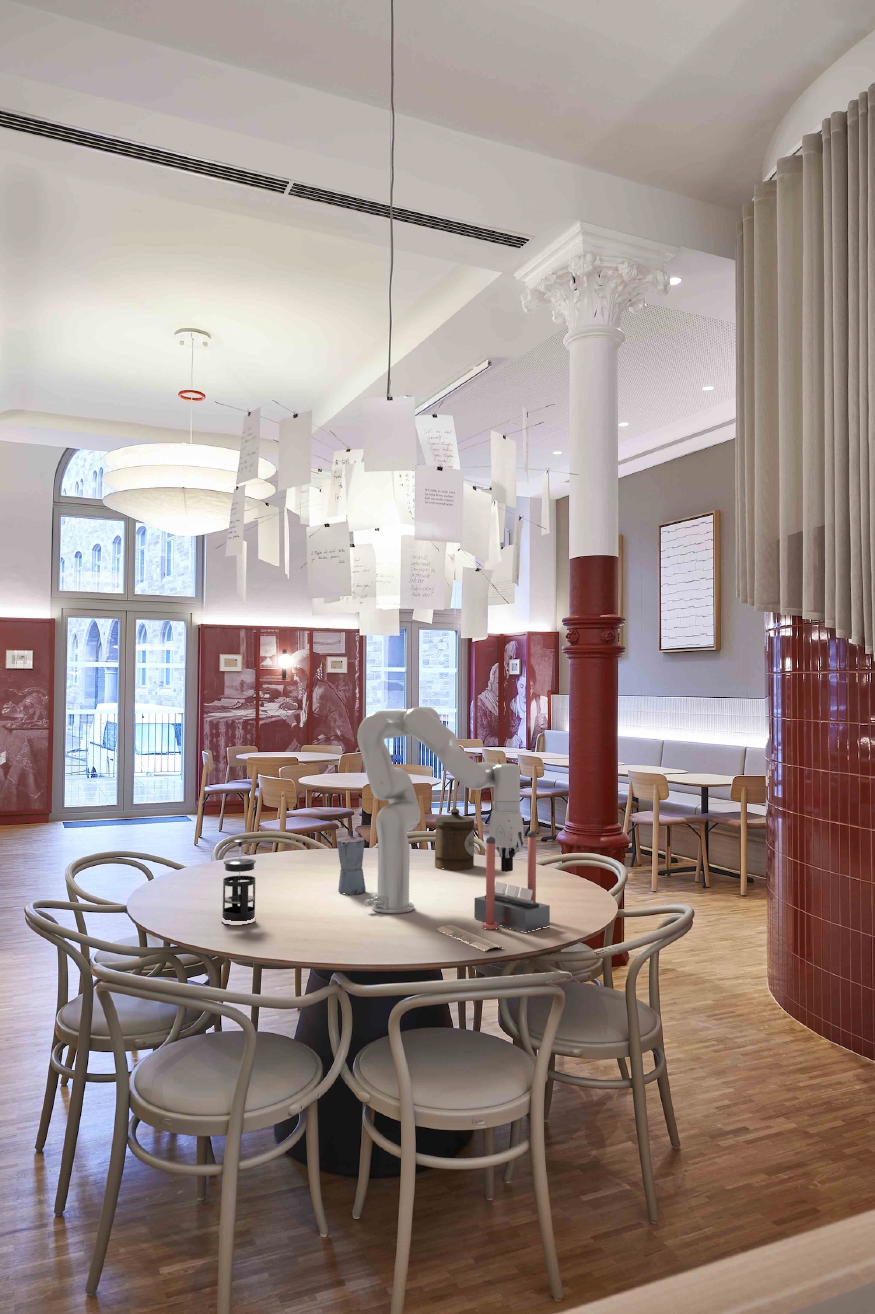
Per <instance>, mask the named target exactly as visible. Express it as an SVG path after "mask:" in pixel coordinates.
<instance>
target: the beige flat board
mask: <svg viewBox="0 0 875 1314" xmlns="http://www.w3.org/2000/svg"><path fill="white" fill-rule="evenodd" d="M437 930H438V931H441V932H445V934H448V935H452V937H456V938H460V939H462V940H463V941H467V942H469V944H473V945H476V946H478V948H481V949H485V950H486V952H487V951H488V950H490V949H494V948H497V947H499V948H502V947H503V948H505V947H504V946H501V945H499V944H497V943H494V942H492V941H490V940H488V939H486V938H483V937H481V936H480V935H479V936H478V935H476V934H474V933H473V932H472V933H471V932H469V931H467V930H465V929H462V928H459V927H458V926H455V925H453V924H452V925H447V924H446V925H443V926H440V927H438V928H437V929H436V931H437ZM438 931H437V932H438ZM445 934H444V935H445ZM499 948H498V949H499Z"/></svg>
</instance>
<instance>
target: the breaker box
mask: <svg viewBox="0 0 875 1314" xmlns="http://www.w3.org/2000/svg"><path fill="white" fill-rule="evenodd" d="M473 910H474V918H476V919H475V920H477V919H479V920H478V921H480V920H482V921H481V922H484V921H486V894H485V895H483V896H477V897H474V909H473ZM550 910H551V909H550V905H549V904H545V903H541V902H537V901H536V902H534V903H533V904H528V903H524V902H520V901H516V900H512V899H508V898H504V897H500V896H496V895H495V922H496V923H498V925H502V926H504V927H503V928H505V927H507V928H506V929H508V928H511V929H513V930H512V931H515V930H518V931H523V932H528V931H532V930H536V929H538V928H543V927H547V926H551V925H550V924H551V923H550V919H551V917H550V914H551V913H550V912H551V911H550ZM511 929H510V930H511ZM518 931H517V932H518Z"/></svg>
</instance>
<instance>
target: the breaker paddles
mask: <svg viewBox="0 0 875 1314" xmlns="http://www.w3.org/2000/svg"><path fill="white" fill-rule="evenodd" d="M532 893H533V890H530V889H528V888H527V887H526V888H525V887H520V886H517V885H513V884H507V883H504V882H499V881H495V895H496V896H500V897H504V898H508V899H512V900H516V901H520V902H524V903H528V904H533V903H534V902H533V901H532V900H531V897H532Z"/></svg>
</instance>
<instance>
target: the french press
mask: <svg viewBox="0 0 875 1314" xmlns="http://www.w3.org/2000/svg"><path fill="white" fill-rule="evenodd" d="M247 842H248V839H244V838H237V839H234V840H232V843H237V844H238V845H237V846H238V847H239V848H238V849H239V854H238V858H230V859H226V860H224V861H223V864H224V870H225V871H227V872H234V873H238V875H231V876H227V877H224V878H223V880H222V882H223V883H222V915H221V916H222V917H223V918H224V919H225V920H231V921H247V920H251V919H253V918H254V917H255V918H256V916H255V913H256V877H255V876H252V875H241V873H242V872H249V871H253V870H254V869H255V864H256V860H255V859H253V858H241V855H242V853H241V851H242V850H241V849H242V847H243V843H247ZM249 886H252V896H251V895H249ZM226 887H232V888H231V891H232V892H231V896H230V895H229V896H226ZM251 902H252V906H249V903H251ZM226 904H230V905H231V906H228V907H226Z"/></svg>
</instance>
